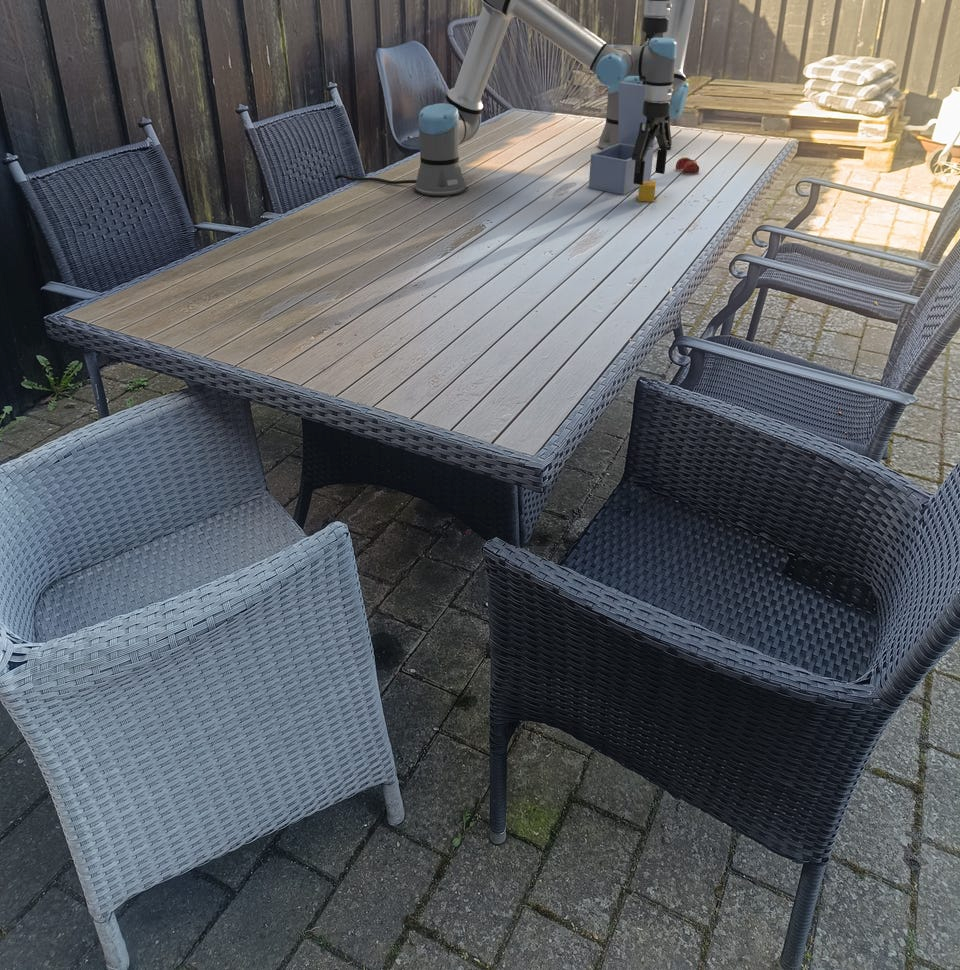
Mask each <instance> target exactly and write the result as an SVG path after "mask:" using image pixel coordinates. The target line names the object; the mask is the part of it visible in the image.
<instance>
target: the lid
mask: <svg viewBox="0 0 960 970" xmlns="http://www.w3.org/2000/svg"><path fill="white" fill-rule="evenodd" d="M642 84H643V81H641V82H640V83H639V84H634V83H626V82H620V83H619V84H618V121H619V142H622V143H628V144H634V145H635V144H636V140H637V137H638V133H639V128H640V123H646V120H647V117H646V116H644V115H643V103H644V101H645V99H644V91H645V85H642ZM643 132H644V131H643ZM655 145H656V137H655V138H654V139H653V140H652V141H651V144H650V146H649V148H651V149H654V148H655V147H656V146H655Z"/></svg>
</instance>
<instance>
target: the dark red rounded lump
mask: <svg viewBox="0 0 960 970" xmlns="http://www.w3.org/2000/svg"><path fill="white" fill-rule="evenodd" d="M675 170H681V173H682V174H683V175H690V174H698V173H699V172H700V166H699V164H698V162H697V160H695V159H691V158H690V157H686V156H685V157H681V158H679V159H678V160H677V162H676V164H675Z"/></svg>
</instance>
